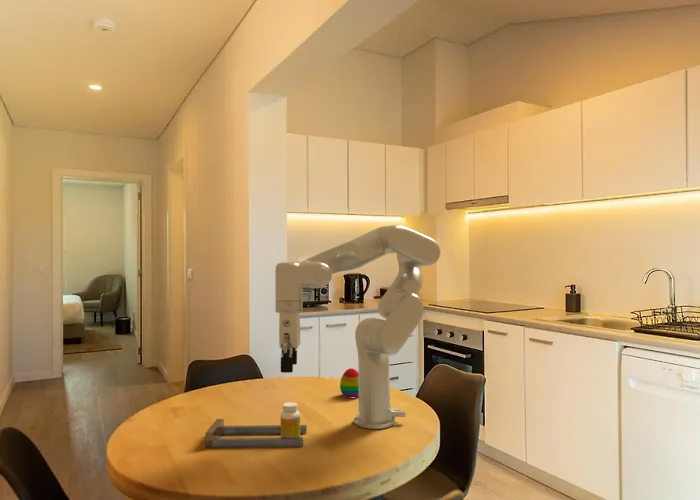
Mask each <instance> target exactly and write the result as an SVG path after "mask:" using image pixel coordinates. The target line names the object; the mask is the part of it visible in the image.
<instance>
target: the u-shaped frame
mask: <svg viewBox="0 0 700 500" xmlns="http://www.w3.org/2000/svg"><path fill="white" fill-rule="evenodd" d="M307 428H308V427H307V424H300V435H307V433H308V429H307ZM223 435H226V436H227V435H228V436H230V435H235V436H237V435H281V424H279V425H277V424H275V425H270V424H269V425H266V424H263V425H225V419H224V418H216V420H215V421H214V422H213V423H212V424H211V425H210V426H209V428H208V429H207V430H206V431H205V449H213V448H214V449H215V448H216V449H218V448H220V449H221V448H222V449H223V448H224V449H225V448H228V449H229V448H236V449H237V448H303V447H304V436H303V437H302V436H300V437H281V436H280V437H276V436H275V437H222V436H223Z"/></svg>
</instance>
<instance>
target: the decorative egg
mask: <svg viewBox="0 0 700 500" xmlns="http://www.w3.org/2000/svg"><path fill="white" fill-rule="evenodd" d="M339 388H340V392H341V395H342V396H343V397H344V396H345V397H344V398H346V397H357V398H359V397H358V396H359V384H358V370H356V369H354V368H348V369H346V370H345V371H344V373H343V374H342V376H341V379H340V382H339Z"/></svg>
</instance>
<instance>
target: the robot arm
mask: <svg viewBox="0 0 700 500" xmlns="http://www.w3.org/2000/svg"><path fill="white" fill-rule="evenodd" d="M388 254H396V259H397V264H398V272H397V275H396V277H395V278H394V280H393V282H392V284H391V285H390V286H389V287H388V289H387V290H386V292H385V293H384V295H383V296H382V297H381V298H380V301H379V302H378V305H377V312H378V314H379V315H380V317H382V318H383V319H382V318H376V317H368V318H364V319H363V320H361V321H360V322H359V323H358V324H357V326H356V328H355V333H354V335H355V336H354V338H355V345H356V351H357V361H358V364H357V365H358V369H357V372H358V384H359V397H358V414H356V415H355V416H354V417H353V423H354V424H355V426H357V427H360V428H364V429H370V430H379V429H380V430H381V429H387V428H389V427H390V428H391V427H392V426H394V425H395V424H396V418H406V410H404V409H403V410H401V408H393V407H392V405H391V401H390V400H391V396H390V395H391V392H390V391H391V390H390V387H391V385H390V381H391V380H390V370H391V369H390V358H389V355H395V354H396V353H398V352H400V350H401V349H402V348H403V347H404V345H405V344H406V343H407V342H408V340H409V339H410V337H411V335H413V333H414V331H415V330H416V328H417V326H418V325H419V323H420V322H421V320H422V318H423V315H424V303H423V301H422V299H421V297H420V296H419V295H418V294H419V292H420V290H421V289H422V287H423V282H424V278H423V277H424V275H423V270H422V267H429V266H433V265H435V264H436V263H437V262H438V261H439V259H440V257H441V248H440V246H439V243H437V241H436V240H434V239H433V238H431V237H429V236H427V235H424V234H423V233H420V232H418V231H415V230H414V229H411V228H409V227H406V226H404V225H400V224H391V225H384V226H379V227H377V228H374V229H373V230H371V231H368V232H366V233H364V234H361V235H360V236H359V237H355V238H353V239H351V240H349V241H347V242H344V243H342V244H339V245H337V246H335V247H332V248H329V249H328V250H324V251H322V252H320V253H317V254H314V255H313V256H311V257H308V258H306V259H304V260H302V261H300V262H279V263H277V264H276V266H275V270H274V272H275V274H274V275H275V276H274V277H275V279H274V280H275V284H274V287H275V290H274V291H275V292H274V293H275V294H274V295H275V298H274V299H275V302H274V303H275V304H274V305H275V313H277V314H279V318H278V319H279V321H278V322H279V324H278V330H279V331H278V337H279V338H278V341H279V345H278V346H279V348H280V349H281V353H280V373H282V374H283V373H291V374H292V373H293V371H294V368H293V367H294V365H297V364H298V350H297V349H298V348H299V346H300V345H301V323H300V322H301V319H300V313H302V312H303V309H304V308H303V307H304V306H303V301H304V300H303V296H304V295H303V291H304V290H303V288H313V289H321V288H324V287H326V286H328V284H329V283H330V282H331V280H332V278H333V274H336V273H341V272H346V271H354V270H356V269H359V268H362V267H364V266H367V265H368V264H370V263H372V262H374V261H375V260H378V259H380V258H381V257H384V256H386V255H388ZM384 319H385V320H384Z"/></svg>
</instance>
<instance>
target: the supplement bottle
mask: <svg viewBox="0 0 700 500" xmlns="http://www.w3.org/2000/svg"><path fill="white" fill-rule="evenodd" d="M282 410H283V411H282V412H280V425H281V434H280V437H301V434H300V425H301V413H300V411H298V403H296V402H285V403H283V404H282Z"/></svg>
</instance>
